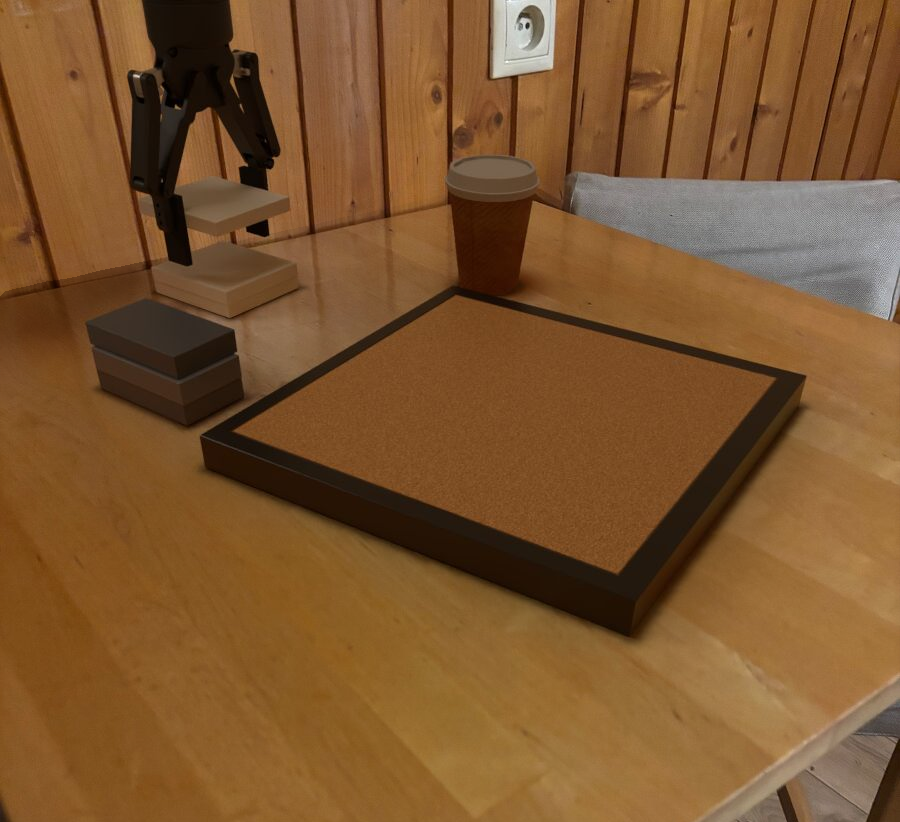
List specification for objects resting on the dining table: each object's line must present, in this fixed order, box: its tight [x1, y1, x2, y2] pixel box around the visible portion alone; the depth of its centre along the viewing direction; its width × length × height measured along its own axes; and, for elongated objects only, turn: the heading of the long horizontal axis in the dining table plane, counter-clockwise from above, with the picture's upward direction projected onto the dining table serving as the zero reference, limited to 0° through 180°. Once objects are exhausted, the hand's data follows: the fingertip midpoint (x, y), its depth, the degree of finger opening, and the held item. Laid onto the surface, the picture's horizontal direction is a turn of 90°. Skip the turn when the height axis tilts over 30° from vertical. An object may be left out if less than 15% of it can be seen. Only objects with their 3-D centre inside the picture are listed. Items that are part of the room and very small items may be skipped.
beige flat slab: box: [137, 175, 291, 238], centre depth 93 cm, size 11×10×1 cm
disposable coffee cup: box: [444, 153, 541, 296], centre depth 97 cm, size 10×10×12 cm
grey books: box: [84, 297, 245, 427], centre depth 79 cm, size 12×7×6 cm, turn 54°
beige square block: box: [150, 240, 300, 319], centre depth 98 cm, size 11×10×3 cm
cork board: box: [199, 285, 808, 637], centre depth 75 cm, size 36×3×35 cm
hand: (220, 247), depth 96 cm, fingers closed on beige flat slab, 10 cm apart
